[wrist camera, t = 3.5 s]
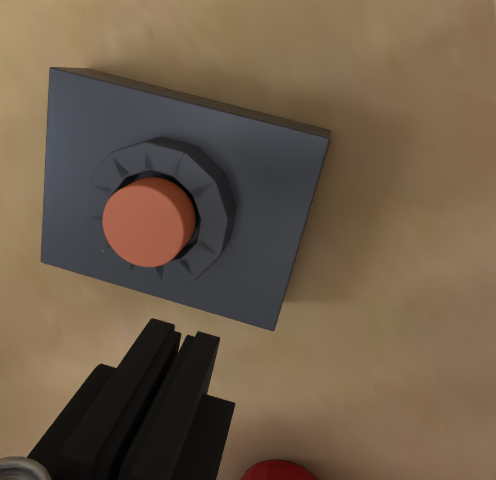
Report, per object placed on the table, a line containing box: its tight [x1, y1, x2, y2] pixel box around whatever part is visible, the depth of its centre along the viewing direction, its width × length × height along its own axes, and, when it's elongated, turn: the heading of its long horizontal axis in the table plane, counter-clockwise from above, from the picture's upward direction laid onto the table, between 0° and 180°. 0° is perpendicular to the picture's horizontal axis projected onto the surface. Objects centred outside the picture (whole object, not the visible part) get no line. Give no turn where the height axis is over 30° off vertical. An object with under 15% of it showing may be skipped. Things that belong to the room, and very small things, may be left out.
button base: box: [41, 67, 331, 331], centre depth 22 cm, size 13×10×5 cm
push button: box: [103, 177, 196, 267], centre depth 19 cm, size 4×4×2 cm
